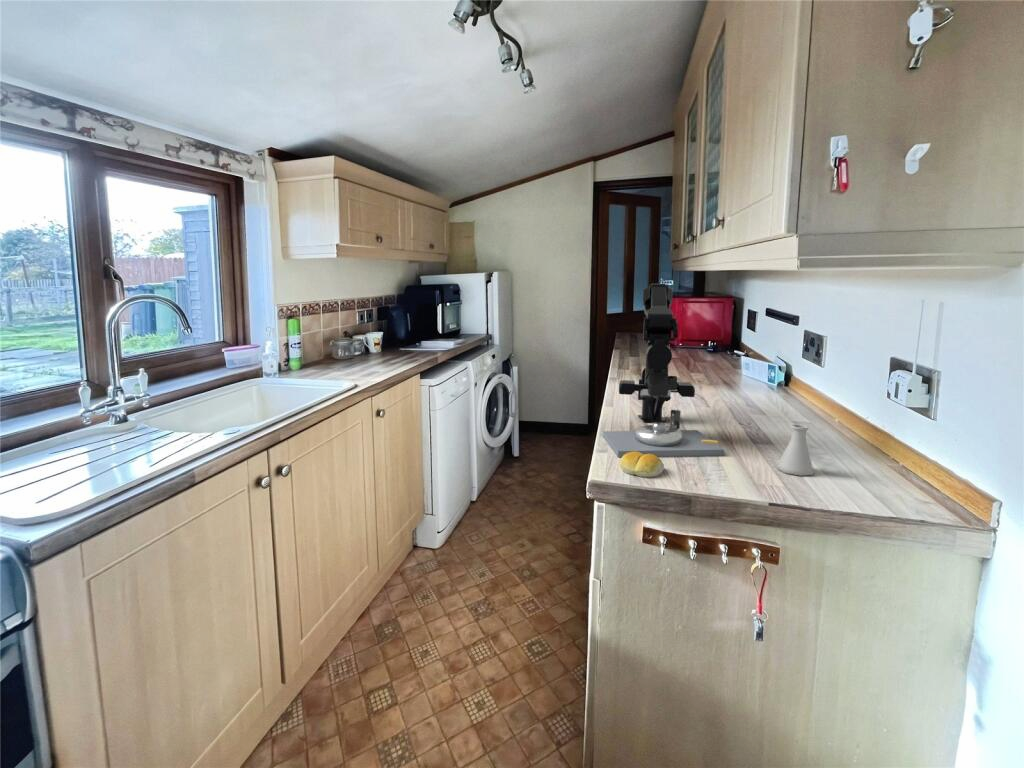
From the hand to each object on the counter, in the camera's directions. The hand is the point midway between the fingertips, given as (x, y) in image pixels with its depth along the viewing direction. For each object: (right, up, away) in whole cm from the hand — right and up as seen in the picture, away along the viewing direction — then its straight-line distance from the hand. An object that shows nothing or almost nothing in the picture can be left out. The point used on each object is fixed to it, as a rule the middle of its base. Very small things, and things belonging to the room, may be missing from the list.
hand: (653, 420), depth 135 cm
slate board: (-1, -6, -8) cm, 10 cm away
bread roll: (-9, -9, -24) cm, 28 cm away
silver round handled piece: (0, -4, -7) cm, 8 cm away
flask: (+23, -9, -25) cm, 35 cm away
